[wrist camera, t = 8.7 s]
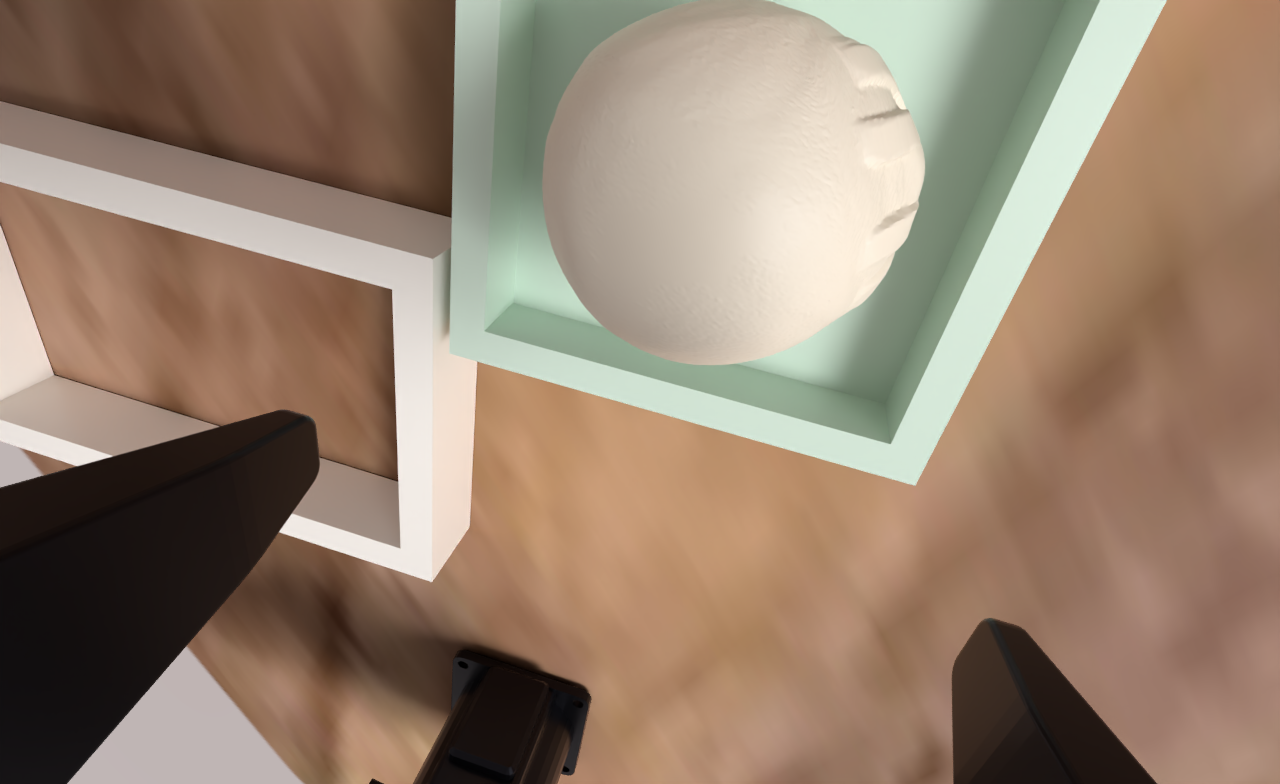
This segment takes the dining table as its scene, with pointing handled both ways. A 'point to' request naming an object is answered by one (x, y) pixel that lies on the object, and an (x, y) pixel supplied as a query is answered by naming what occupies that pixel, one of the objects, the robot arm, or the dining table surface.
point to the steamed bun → (728, 179)
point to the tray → (921, 268)
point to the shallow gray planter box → (286, 229)
